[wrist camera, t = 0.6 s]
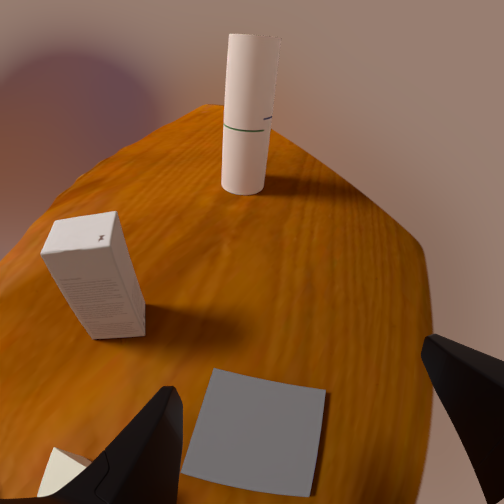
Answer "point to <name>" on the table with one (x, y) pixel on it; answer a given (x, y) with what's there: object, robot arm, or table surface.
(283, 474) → the mat
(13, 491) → the table surface
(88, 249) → the skincare box
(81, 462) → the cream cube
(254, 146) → the cylindrical container
